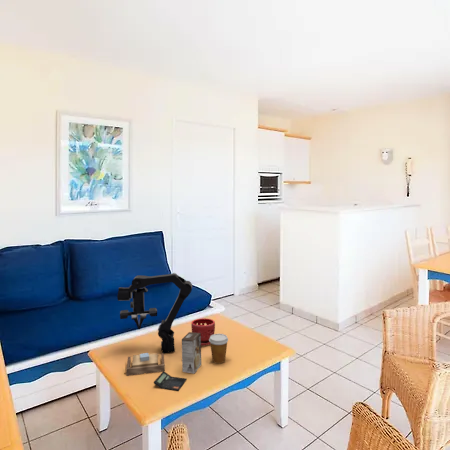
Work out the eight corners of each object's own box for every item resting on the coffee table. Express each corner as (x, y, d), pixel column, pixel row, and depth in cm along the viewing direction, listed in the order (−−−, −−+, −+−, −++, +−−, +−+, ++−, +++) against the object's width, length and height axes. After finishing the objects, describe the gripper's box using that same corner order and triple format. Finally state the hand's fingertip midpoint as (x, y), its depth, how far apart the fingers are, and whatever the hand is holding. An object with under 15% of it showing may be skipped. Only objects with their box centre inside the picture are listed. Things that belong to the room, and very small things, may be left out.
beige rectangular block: (158, 360, 177) (157, 353, 177) (158, 370, 167) (158, 362, 167) (133, 363, 175) (133, 355, 174) (132, 373, 165) (132, 365, 165)
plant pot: (219, 343, 196) (219, 322, 194) (199, 349, 188) (198, 327, 187) (207, 335, 206) (207, 315, 205) (187, 341, 199) (187, 320, 198)
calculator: (178, 391, 149) (178, 385, 149) (153, 388, 152) (153, 381, 152) (186, 380, 158) (186, 374, 158) (162, 377, 161) (162, 370, 161)
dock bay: (163, 358, 178) (163, 353, 178) (164, 371, 166) (164, 365, 165) (128, 362, 175) (127, 356, 174) (126, 375, 162) (126, 369, 162)
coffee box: (189, 363, 174) (188, 331, 172) (201, 364, 172) (201, 332, 170) (181, 372, 165) (181, 339, 163) (194, 374, 163) (194, 340, 162)
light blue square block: (148, 356, 173) (148, 352, 173) (149, 360, 169) (149, 356, 169) (139, 357, 172) (139, 354, 172) (140, 361, 168) (140, 357, 168)
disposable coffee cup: (230, 357, 179) (230, 334, 178) (224, 366, 170) (224, 342, 169) (213, 354, 182) (213, 332, 181) (206, 363, 173) (206, 339, 172)
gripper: (155, 294, 194) (156, 322, 196) (120, 296, 190) (121, 325, 191) (157, 300, 183) (157, 329, 185) (119, 303, 179) (120, 333, 180)
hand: (139, 329), depth 186 cm, fingers closed
